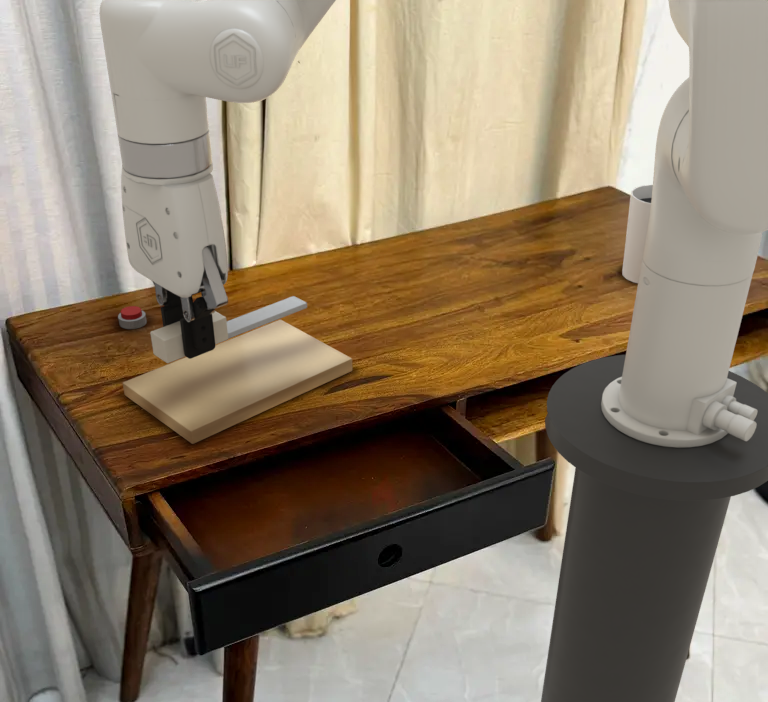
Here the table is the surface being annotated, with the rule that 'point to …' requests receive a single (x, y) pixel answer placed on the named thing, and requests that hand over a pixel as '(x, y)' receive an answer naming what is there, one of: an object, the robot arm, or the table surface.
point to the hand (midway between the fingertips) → (190, 345)
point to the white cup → (636, 231)
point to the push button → (132, 317)
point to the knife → (222, 327)
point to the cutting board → (236, 380)
